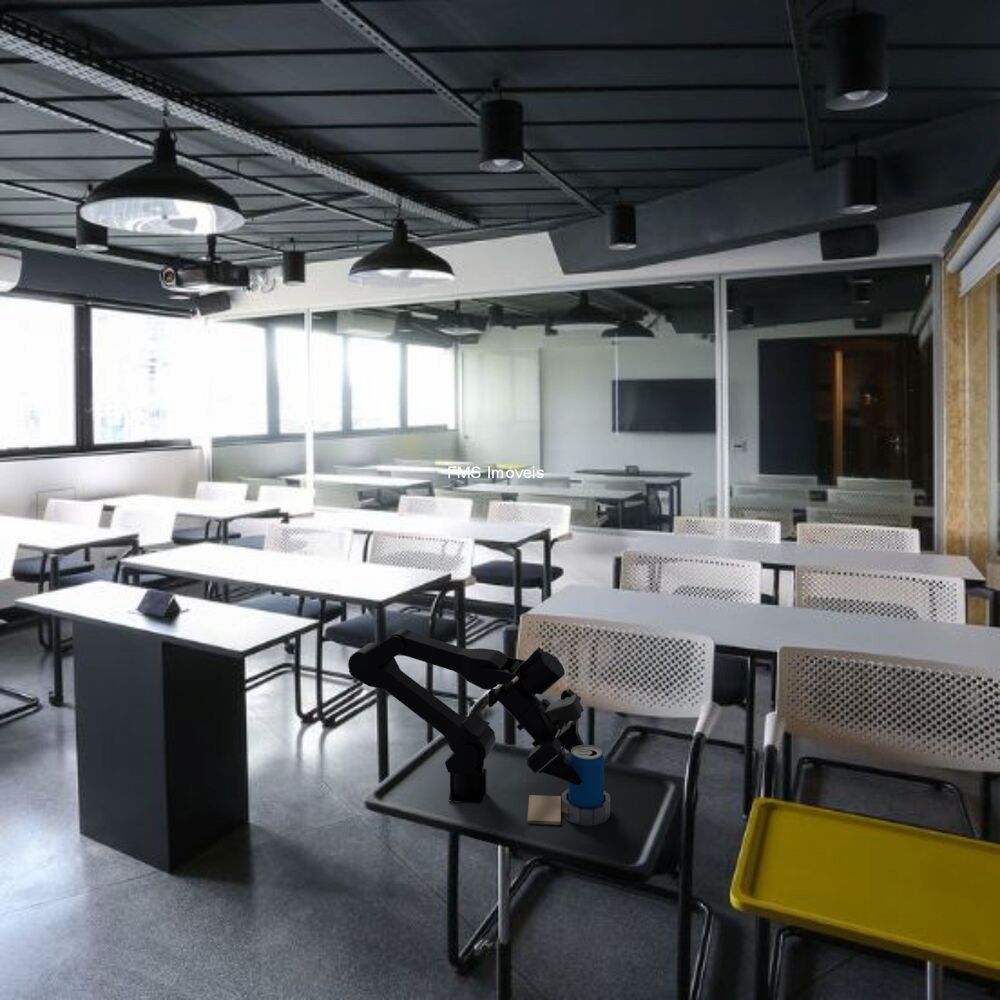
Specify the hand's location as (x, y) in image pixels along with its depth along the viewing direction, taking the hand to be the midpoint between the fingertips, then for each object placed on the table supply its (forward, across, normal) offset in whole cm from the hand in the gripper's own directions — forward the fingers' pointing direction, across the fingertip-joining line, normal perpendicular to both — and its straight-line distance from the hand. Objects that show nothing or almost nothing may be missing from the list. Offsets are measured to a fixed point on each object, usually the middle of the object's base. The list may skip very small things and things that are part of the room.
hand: (585, 771), depth 151 cm
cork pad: (0, -2, +11) cm, 11 cm away
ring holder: (+6, 0, +6) cm, 8 cm away
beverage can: (+6, 0, +6) cm, 8 cm away
